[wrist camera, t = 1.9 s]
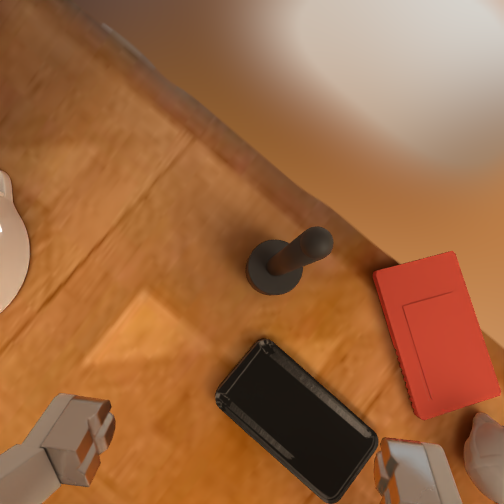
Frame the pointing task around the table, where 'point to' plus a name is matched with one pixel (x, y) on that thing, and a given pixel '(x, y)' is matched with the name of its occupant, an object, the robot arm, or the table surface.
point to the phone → (297, 420)
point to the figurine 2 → (486, 457)
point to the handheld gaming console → (436, 335)
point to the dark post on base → (286, 260)
